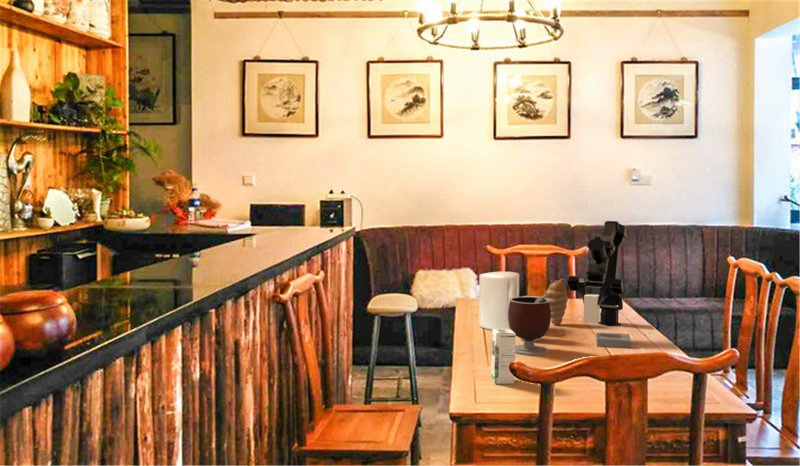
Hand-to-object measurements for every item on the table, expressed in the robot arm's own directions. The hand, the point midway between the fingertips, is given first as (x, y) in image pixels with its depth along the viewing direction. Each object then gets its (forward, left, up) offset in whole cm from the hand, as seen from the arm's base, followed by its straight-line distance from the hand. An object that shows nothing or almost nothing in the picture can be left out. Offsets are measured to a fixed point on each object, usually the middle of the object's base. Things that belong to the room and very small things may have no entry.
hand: (591, 304), depth 252 cm
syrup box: (+55, +24, -14) cm, 62 cm away
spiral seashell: (-10, -29, -14) cm, 33 cm away
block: (-1, -1, -7) cm, 7 cm away
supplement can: (+15, -14, -14) cm, 25 cm away
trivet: (-6, +5, -13) cm, 15 cm away
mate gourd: (+26, 0, -14) cm, 30 cm away
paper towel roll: (+13, -32, -14) cm, 37 cm away
